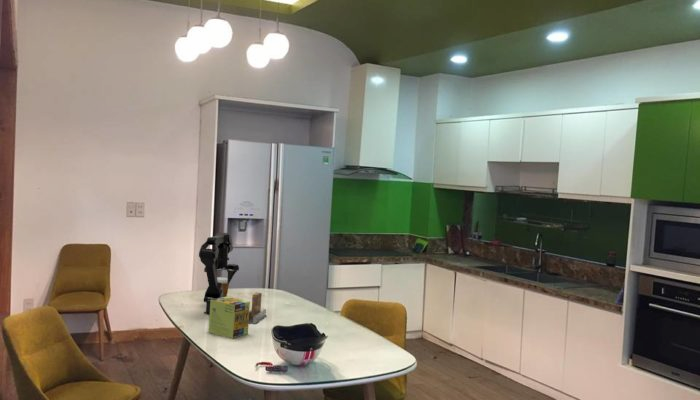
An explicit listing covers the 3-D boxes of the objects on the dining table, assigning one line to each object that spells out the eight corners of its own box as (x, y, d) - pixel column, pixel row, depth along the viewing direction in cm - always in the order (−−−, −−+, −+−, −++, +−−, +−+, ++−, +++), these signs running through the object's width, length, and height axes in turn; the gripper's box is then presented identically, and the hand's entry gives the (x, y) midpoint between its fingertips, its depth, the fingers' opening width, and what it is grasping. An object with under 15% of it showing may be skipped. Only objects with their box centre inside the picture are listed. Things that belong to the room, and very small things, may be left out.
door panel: (251, 317, 297) (252, 294, 296) (254, 315, 303) (256, 292, 302) (256, 318, 296) (258, 295, 296) (260, 315, 302) (261, 292, 302)
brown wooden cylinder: (226, 301, 333) (228, 280, 333) (210, 300, 333) (211, 279, 333) (230, 297, 342) (231, 277, 342) (214, 296, 343) (215, 276, 342)
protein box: (233, 339, 260) (234, 304, 259) (208, 332, 268) (209, 299, 267) (248, 334, 269) (250, 301, 268) (224, 328, 277) (225, 296, 276)
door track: (241, 322, 288) (241, 315, 288) (252, 314, 306) (252, 307, 306) (255, 324, 287) (256, 317, 287) (266, 316, 305) (266, 309, 305)
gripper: (228, 252, 326) (227, 279, 327) (199, 254, 313) (198, 283, 314) (240, 255, 318) (238, 283, 320) (210, 258, 305) (209, 287, 306)
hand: (221, 284), depth 315 cm, fingers open, 9 cm apart
